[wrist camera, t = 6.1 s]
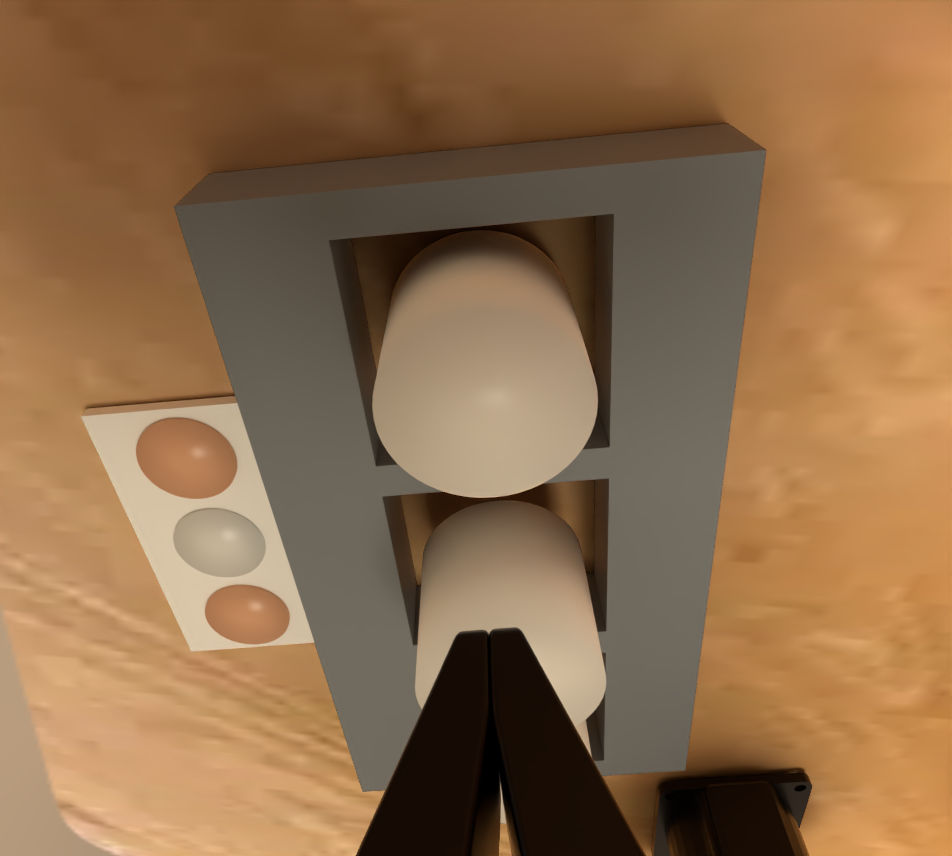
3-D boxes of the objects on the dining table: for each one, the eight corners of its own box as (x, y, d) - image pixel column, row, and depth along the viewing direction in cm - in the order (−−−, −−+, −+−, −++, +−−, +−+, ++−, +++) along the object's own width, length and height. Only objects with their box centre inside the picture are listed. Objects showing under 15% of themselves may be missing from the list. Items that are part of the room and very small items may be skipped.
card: (332, 632, 26) (330, 644, 25) (194, 642, 26) (190, 655, 26) (261, 393, 20) (256, 404, 20) (87, 408, 20) (78, 419, 20)
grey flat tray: (669, 710, 29) (685, 770, 27) (369, 731, 29) (362, 791, 27) (727, 123, 16) (766, 149, 14) (208, 173, 17) (173, 206, 15)
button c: (572, 389, 20) (597, 489, 16) (403, 403, 20) (391, 505, 16) (569, 221, 17) (598, 296, 13) (375, 239, 17) (353, 318, 14)
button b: (582, 610, 22) (605, 738, 19) (432, 621, 22) (427, 750, 19) (581, 493, 20) (607, 616, 16) (412, 507, 20) (401, 631, 16)
